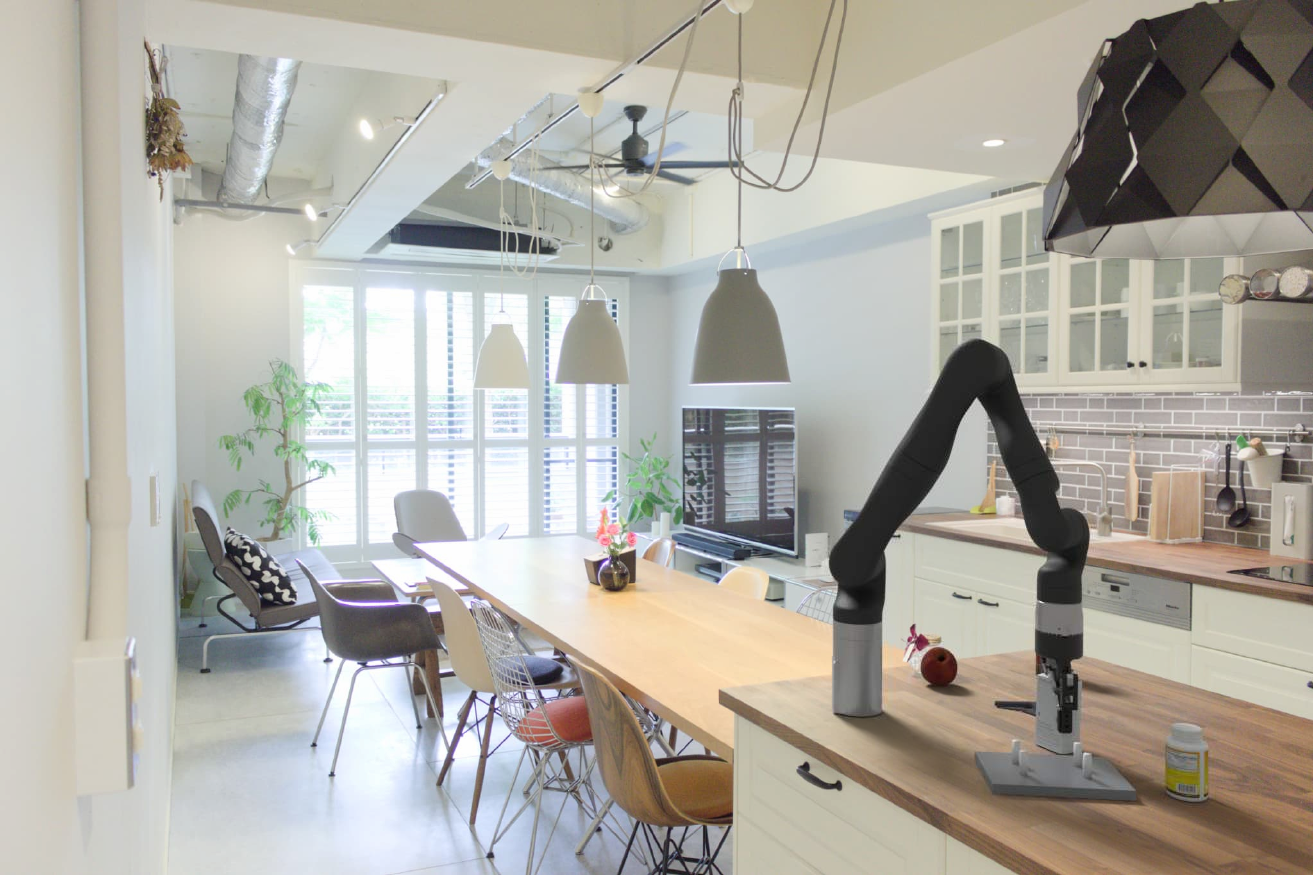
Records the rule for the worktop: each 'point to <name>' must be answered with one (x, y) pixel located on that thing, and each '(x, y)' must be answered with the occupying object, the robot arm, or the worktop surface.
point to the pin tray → (1053, 775)
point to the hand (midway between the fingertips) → (1058, 725)
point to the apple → (939, 666)
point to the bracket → (1017, 706)
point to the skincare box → (1054, 719)
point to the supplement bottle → (1186, 763)
